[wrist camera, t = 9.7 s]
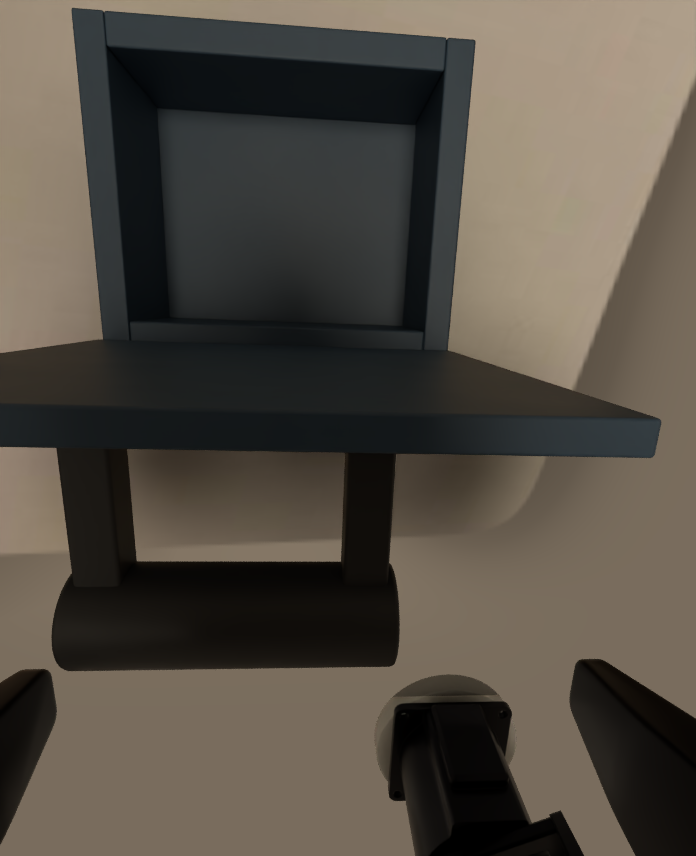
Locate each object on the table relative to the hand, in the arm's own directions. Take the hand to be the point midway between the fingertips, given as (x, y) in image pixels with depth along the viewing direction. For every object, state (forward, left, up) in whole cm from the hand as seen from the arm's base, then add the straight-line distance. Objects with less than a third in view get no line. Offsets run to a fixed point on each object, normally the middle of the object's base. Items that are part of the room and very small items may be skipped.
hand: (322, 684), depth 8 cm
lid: (+5, +1, -3) cm, 6 cm away
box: (+9, +1, -13) cm, 16 cm away
